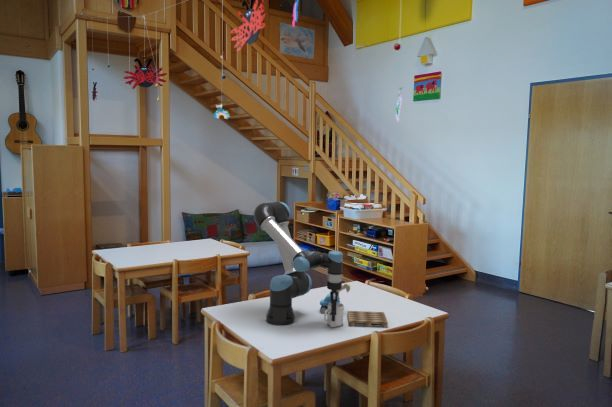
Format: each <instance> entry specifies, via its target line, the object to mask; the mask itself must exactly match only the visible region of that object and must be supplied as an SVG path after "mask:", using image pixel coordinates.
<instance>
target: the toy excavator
mask: <svg viewBox="0 0 612 407" xmlns="http://www.w3.org/2000/svg"><path fill="white" fill-rule="evenodd" d="M344 290H346V293H349V292H350V290H351V285H350V284H349V283H348V282H344V283H343V285H342V288H341V289H340V290H337V291H336V292H338V296H337V303H341V301H340V292H341V291H344ZM329 303H331V298H330V293H327V294H326V296H325V297H324V299H321V300H320V301H319V305H320V308H319V311H320V313H321V314H324V313H325V311H326V310H327V309H328V304H329Z"/></svg>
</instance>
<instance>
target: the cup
mask: <svg viewBox="0 0 612 407" xmlns="http://www.w3.org/2000/svg"><path fill="white" fill-rule="evenodd" d="M344 308H345V306H344V304H343V303H342V302H340V303H336V327H341V326H343V324H344V312H345V311H344ZM330 313H331V303H329V304H328V309H327V310H326V311H325V313H323V320H324V322H325V323H327V325H329V326H330V320H331V315H330Z"/></svg>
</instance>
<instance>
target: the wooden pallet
mask: <svg viewBox="0 0 612 407" xmlns="http://www.w3.org/2000/svg"><path fill="white" fill-rule="evenodd" d="M346 311H347V313H346V314H347V316H346V317H347V323H348V327H355V324H364V327H366V328H367V327H368V328H372V324H380V327H381V328H385V329H387V328H388V324H389V323H388V320H387V319H388V318H387V317H386V314H385V312H384V311H362V310H361V311H358V310H346Z"/></svg>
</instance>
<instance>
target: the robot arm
mask: <svg viewBox="0 0 612 407" xmlns="http://www.w3.org/2000/svg"><path fill="white" fill-rule="evenodd" d="M290 218H291V210H290V207H289V205H287V204H286V203H285V202H283V201H273V202H262V203H260V204H258V205H257V206H256V207H255V208H254V211H253V219H254V222H255V223H256V225H257V227H258V228H259V229H260V230H262V231H264V232H266V233H267V234H268V235H269V237H270V238H271V239H272V240H273V241H274V242H275V243H276V246H277V249H278V251H279V252H278V253H279V255H280V257H281V262H282V264H283V265H282V266H283V268H284V274H279V275H275V276H273V277H272V278H271V279H270V284H269V308H268V311H267V313H266V315H265V316H266V318H265V319H266V320H265V321H266V322H267V323H268V324H271V325H276V326H285V325H286V326H287V325H291V324H293V323H295V321H296V320H295V318H296V316H295V313H294V310H293V306H292V304H293V299H296V298H298V297H301V296H305V295H306V294H308V293H309V292H310V291H311V288H312V285H313V283H312V282H313V281H312V277H311V276H310V275H309V274H308V273H306V272H308V271H311V270H314V269H318V268H322V269H327V276H326V277H327V278H326V280H327V282H326V288H327V289H328V290H330V291H329V294H330V298H331V313H330V315H331V320H330V325H329V327H330V328H336V327H337V326H336V303H337V296H338V292H336V291H337V290H340V289H341V288H342V284H343V283H342V280H343V278H344V275H343V264H344V259H343V258H344V254H343V252H341V251H338V250H331V251H328V253H325V252H320V251H311V252H310V253H308V254H307V253H306V252H305V251H304V250H303V249H302V248H301V247H300V246H299V245H298V244H297V243H296V241H294V239H293V238H292V237H291V232H290V229H289V223H290V220H289V219H290Z"/></svg>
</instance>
